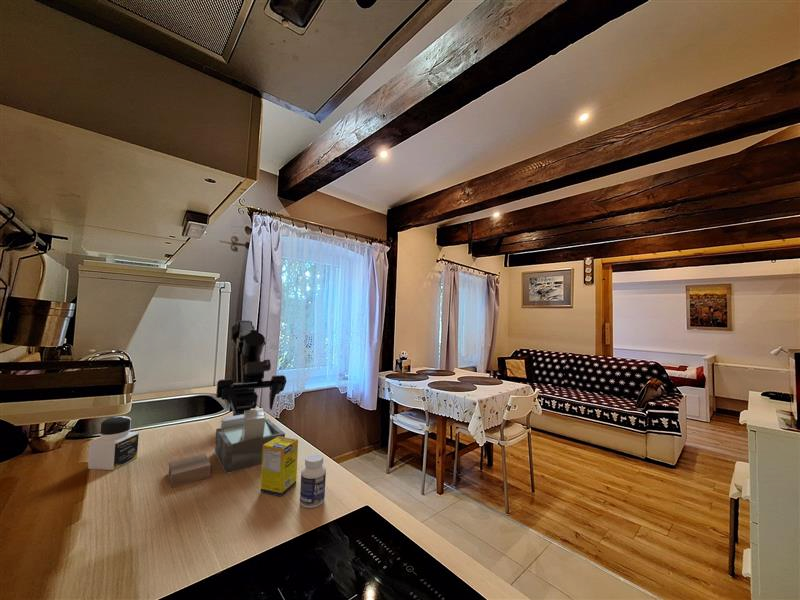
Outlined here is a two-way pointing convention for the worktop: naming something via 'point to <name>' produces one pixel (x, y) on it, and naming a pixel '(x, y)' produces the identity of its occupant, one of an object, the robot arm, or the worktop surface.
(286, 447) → the supplement box
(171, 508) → the worktop surface
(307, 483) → the pill bottle
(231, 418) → the trapdoor
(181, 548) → the worktop surface
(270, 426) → the frame
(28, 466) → the worktop surface
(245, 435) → the light grey block
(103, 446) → the medicine bottle
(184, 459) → the walnut plinth
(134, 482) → the worktop surface
